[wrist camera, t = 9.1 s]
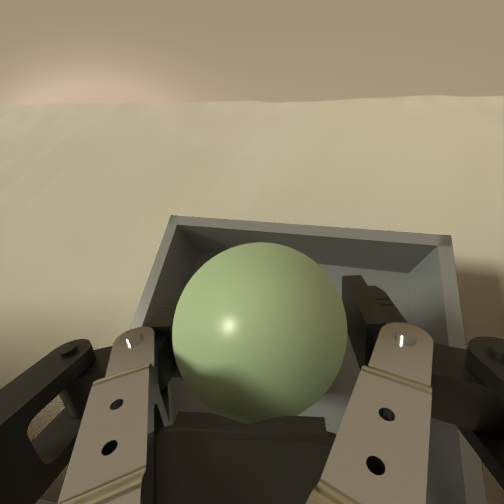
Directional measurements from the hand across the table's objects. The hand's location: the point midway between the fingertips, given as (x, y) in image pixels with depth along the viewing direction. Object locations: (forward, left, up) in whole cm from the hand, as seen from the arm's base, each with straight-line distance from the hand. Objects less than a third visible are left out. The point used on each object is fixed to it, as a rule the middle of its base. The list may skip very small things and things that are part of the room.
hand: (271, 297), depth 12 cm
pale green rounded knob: (0, -2, -7) cm, 7 cm away
